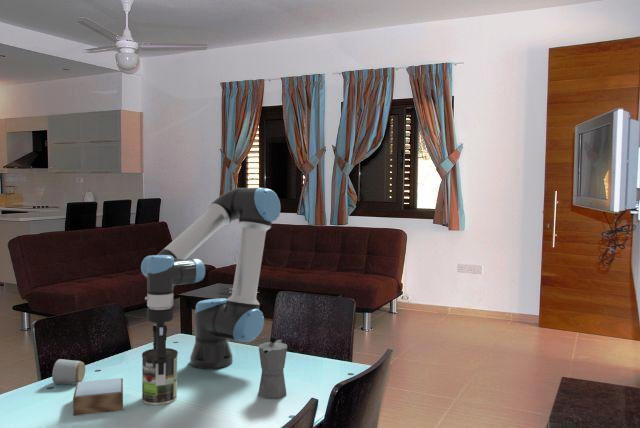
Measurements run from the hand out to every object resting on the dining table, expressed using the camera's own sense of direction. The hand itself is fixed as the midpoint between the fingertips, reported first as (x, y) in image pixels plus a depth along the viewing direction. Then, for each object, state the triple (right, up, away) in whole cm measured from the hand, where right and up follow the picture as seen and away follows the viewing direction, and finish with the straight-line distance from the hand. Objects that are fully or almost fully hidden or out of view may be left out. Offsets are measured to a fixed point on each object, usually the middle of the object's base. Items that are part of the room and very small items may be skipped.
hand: (159, 377), depth 169 cm
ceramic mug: (-33, -6, +14) cm, 36 cm away
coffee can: (0, -7, +1) cm, 7 cm away
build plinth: (-16, -7, -5) cm, 18 cm away
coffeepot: (+34, -7, +7) cm, 35 cm away
